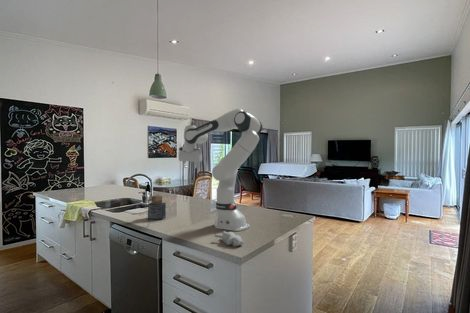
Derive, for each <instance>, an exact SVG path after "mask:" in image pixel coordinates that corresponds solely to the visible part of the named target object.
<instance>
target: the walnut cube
mask: <svg viewBox="0 0 470 313" xmlns="http://www.w3.org/2000/svg"><path fill="white" fill-rule="evenodd" d="M150 199H151V200H150V201H151V202H150V203H152V204H160V203H163V195H160V194H155V195H152V196H150Z"/></svg>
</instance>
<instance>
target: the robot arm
mask: <svg viewBox="0 0 470 313" xmlns="http://www.w3.org/2000/svg"><path fill="white" fill-rule="evenodd" d="M236 128H237V130H238V131H239V133H241V136H240V137H239V139H238V140H237V141H236V143H235V144H234V145H233V146H232V147H231V149H230V150H229V151H228V152H227V154H225V156H224V157H222V158H221V159H220V160H219V162H218V163H217V164H215V166H213V168H212V170H211V175H212V177H213V179H215V180H216V181H218V184H217V188H216V202H215V208H216V210H215V212H216V213H215V219H214V223H213V226H214V228H215V229H218V230H219V229H220V230H224V231H232V232H233V231H234V232H240V231H245V230H247V229H249V228H250V227H251V226H250V223H247V221H246V216H245V215H244V214H243V213H242V212H241V211H240V210H239V209H238V205H239V204H238V203H236V202H235V187H236V182H237V175H238V172H239V170H238V169H239V168H240V167H241V166H242V165H243V164H244V163H245V162H246V161H247V159H248V158H249V156H250V155H252V153H253V152H254V150H255V149H256V147H257V145H258V143H259V141H260V136H259V134H260V133H261V132H263V123H262V122H261V121H260V119H258V118H256V117H255V115H252V114H251V113H249V112H247V111H245V110H243V109H242V108H236V109H233V110H231V111H228V112H226V113H224V114H222V115H220V116H219V117H217V118H215V119H213V120H210V121H208V122H206V123H204V124H201V125H200V126H198V127H197V126H196V125H193V124H190V125H186V126H185V127H184V130H183V132H184V133H183V139H184V142H183V145H182V146H181V147H179V148H178V151H179V152H178V161H179V162H182V165H183V168H186V169H187V168H188V164H187V162H194V165H193V169H197V168H198V167H197V166H198V164H199V163H200V162H201V163H202V162H203V152H202V149H201V148H200V147H199V148H197V145H199V144H201V145H202V144H206V143H207V142H208V140H209V134H210V133H214V132H215V133H217V132H218V133H220V132H221V133H226V132H229V131H231V130H234V129H236Z"/></svg>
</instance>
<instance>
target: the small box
mask: <svg viewBox="0 0 470 313" xmlns="http://www.w3.org/2000/svg"><path fill="white" fill-rule="evenodd" d="M166 204H167V203H166V202H162V203H160V204H152V203H151V202H150V203H148V204H147V220H156V221H157V220H159V221H160V220H161V221H163V220H164V219H166V218H167V217H166V216H167V215H166V212H167V211H166V207H167V206H166Z"/></svg>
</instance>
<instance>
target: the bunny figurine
mask: <svg viewBox="0 0 470 313" xmlns="http://www.w3.org/2000/svg"><path fill="white" fill-rule="evenodd" d="M214 238H218V239H219V238H220V239H221V240H222V243H224V244H225V245H226V246H227V245H228V246H229V245H231V246H232V247H234V248H235V247H238V246H239V247H240V246H241V245H243V244H244V240H243V239H242V236H241V235H238V234H235V232H233V231H228V232H227V230H224V231H222V233H221V234H220V233H215V234H214Z"/></svg>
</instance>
